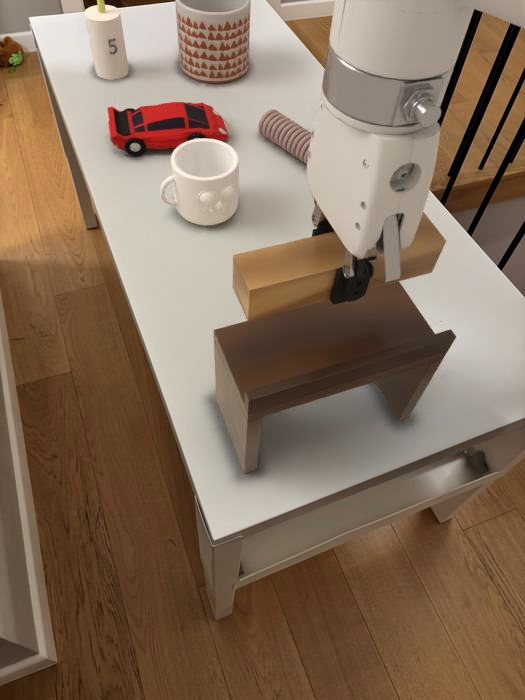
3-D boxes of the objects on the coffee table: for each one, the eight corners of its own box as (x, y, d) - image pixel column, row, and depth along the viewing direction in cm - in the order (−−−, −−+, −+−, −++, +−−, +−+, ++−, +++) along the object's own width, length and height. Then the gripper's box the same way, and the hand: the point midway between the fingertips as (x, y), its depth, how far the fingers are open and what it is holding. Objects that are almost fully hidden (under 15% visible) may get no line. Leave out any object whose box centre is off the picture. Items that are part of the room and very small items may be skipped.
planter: (198, 91, 102) (195, 19, 92) (168, 57, 109) (162, -14, 98) (260, 75, 107) (264, 5, 96) (228, 43, 113) (228, -26, 103)
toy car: (232, 147, 93) (233, 120, 89) (115, 163, 89) (110, 136, 85) (218, 113, 99) (217, 86, 94) (107, 126, 94) (101, 99, 90)
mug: (175, 243, 79) (170, 193, 72) (152, 200, 84) (145, 149, 77) (249, 222, 82) (252, 173, 75) (223, 182, 87) (223, 131, 80)
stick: (432, 272, 49) (446, 240, 46) (247, 321, 45) (249, 290, 42) (410, 243, 51) (423, 210, 48) (232, 287, 47) (232, 254, 44)
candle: (102, 83, 102) (85, -5, 90) (91, 66, 105) (73, -21, 93) (134, 76, 104) (121, -11, 92) (121, 60, 107) (108, -26, 95)
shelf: (408, 417, 64) (456, 336, 51) (244, 474, 59) (248, 400, 46) (370, 352, 70) (404, 263, 56) (215, 399, 65) (212, 313, 51)
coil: (355, 153, 86) (277, 104, 93) (336, 162, 84) (258, 110, 91) (347, 178, 90) (273, 129, 97) (329, 187, 88) (254, 136, 95)
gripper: (516, 147, 30) (418, 340, 45) (375, 9, 38) (333, 210, 53) (397, 171, 28) (337, 364, 43) (278, 21, 36) (262, 226, 51)
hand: (335, 277), depth 48 cm, fingers closed on stick, 4 cm apart
